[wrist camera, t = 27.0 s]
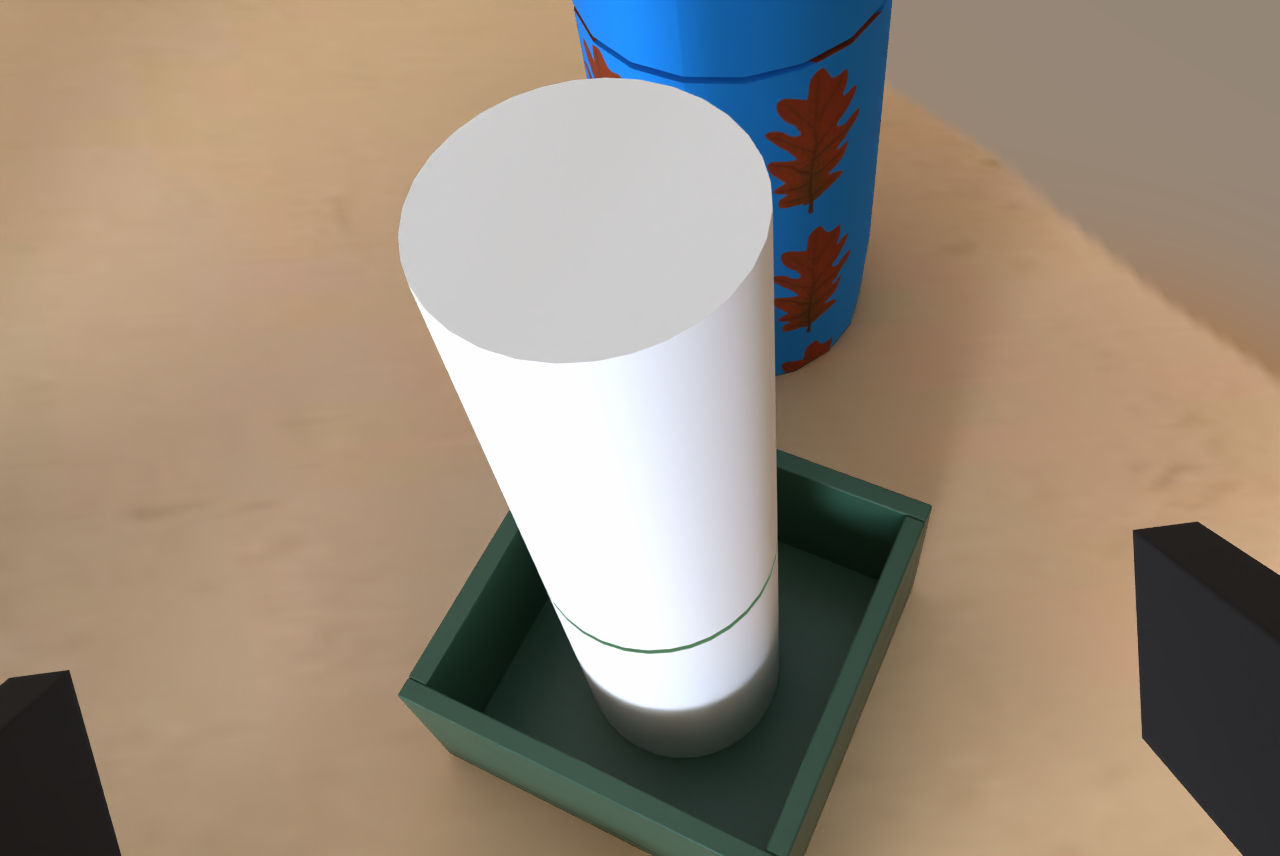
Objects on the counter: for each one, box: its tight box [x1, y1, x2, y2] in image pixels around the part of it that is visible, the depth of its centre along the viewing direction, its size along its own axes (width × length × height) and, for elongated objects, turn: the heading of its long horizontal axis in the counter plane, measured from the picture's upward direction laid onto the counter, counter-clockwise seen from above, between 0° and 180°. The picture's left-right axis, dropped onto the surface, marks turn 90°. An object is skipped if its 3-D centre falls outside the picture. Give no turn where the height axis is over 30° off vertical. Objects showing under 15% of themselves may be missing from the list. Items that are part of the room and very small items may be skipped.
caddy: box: [398, 449, 932, 856], centre depth 40 cm, size 13×13×7 cm
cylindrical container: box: [398, 78, 779, 758], centre depth 32 cm, size 7×7×25 cm
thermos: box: [572, 0, 892, 376], centre depth 42 cm, size 11×11×25 cm
